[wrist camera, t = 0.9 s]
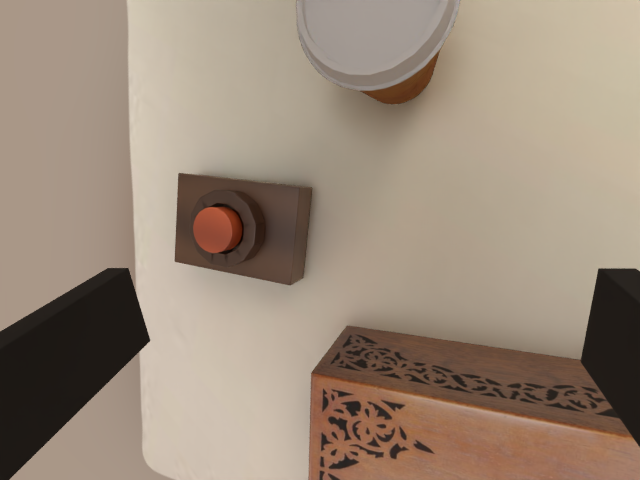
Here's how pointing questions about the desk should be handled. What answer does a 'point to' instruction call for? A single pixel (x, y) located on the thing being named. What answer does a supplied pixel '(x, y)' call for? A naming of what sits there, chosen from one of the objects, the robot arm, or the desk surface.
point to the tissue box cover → (459, 414)
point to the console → (247, 226)
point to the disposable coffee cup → (376, 43)
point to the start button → (217, 229)
